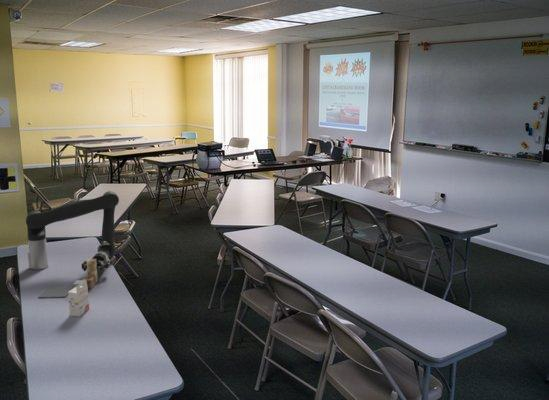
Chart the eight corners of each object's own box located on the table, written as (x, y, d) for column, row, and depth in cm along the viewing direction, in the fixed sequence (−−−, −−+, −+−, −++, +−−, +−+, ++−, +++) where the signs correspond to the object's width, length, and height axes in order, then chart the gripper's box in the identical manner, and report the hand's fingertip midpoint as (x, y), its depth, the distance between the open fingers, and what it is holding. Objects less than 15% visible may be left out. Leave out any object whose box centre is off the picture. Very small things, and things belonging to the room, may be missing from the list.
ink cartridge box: (80, 308, 227) (78, 278, 224) (89, 309, 226) (87, 279, 223) (69, 315, 219) (66, 285, 216) (78, 317, 218) (76, 286, 215)
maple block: (88, 282, 258) (86, 261, 255) (90, 279, 262) (88, 258, 259) (95, 282, 258) (94, 261, 256) (97, 279, 262) (96, 258, 259)
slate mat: (38, 298, 237) (38, 296, 237) (47, 287, 249) (47, 286, 249) (65, 297, 238) (65, 296, 238) (73, 287, 251) (73, 286, 251)
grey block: (73, 295, 241) (73, 283, 240) (76, 291, 246) (76, 280, 245) (84, 294, 242) (83, 283, 241) (86, 290, 247) (86, 280, 245)
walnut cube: (82, 289, 248) (81, 280, 247) (84, 285, 253) (84, 276, 252) (91, 289, 249) (91, 280, 248) (94, 285, 254) (93, 276, 253)
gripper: (86, 253, 273) (78, 262, 257) (112, 252, 275) (105, 262, 259) (87, 265, 275) (79, 276, 259) (113, 265, 276) (106, 275, 260)
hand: (92, 269), depth 259 cm, fingers open, 8 cm apart
